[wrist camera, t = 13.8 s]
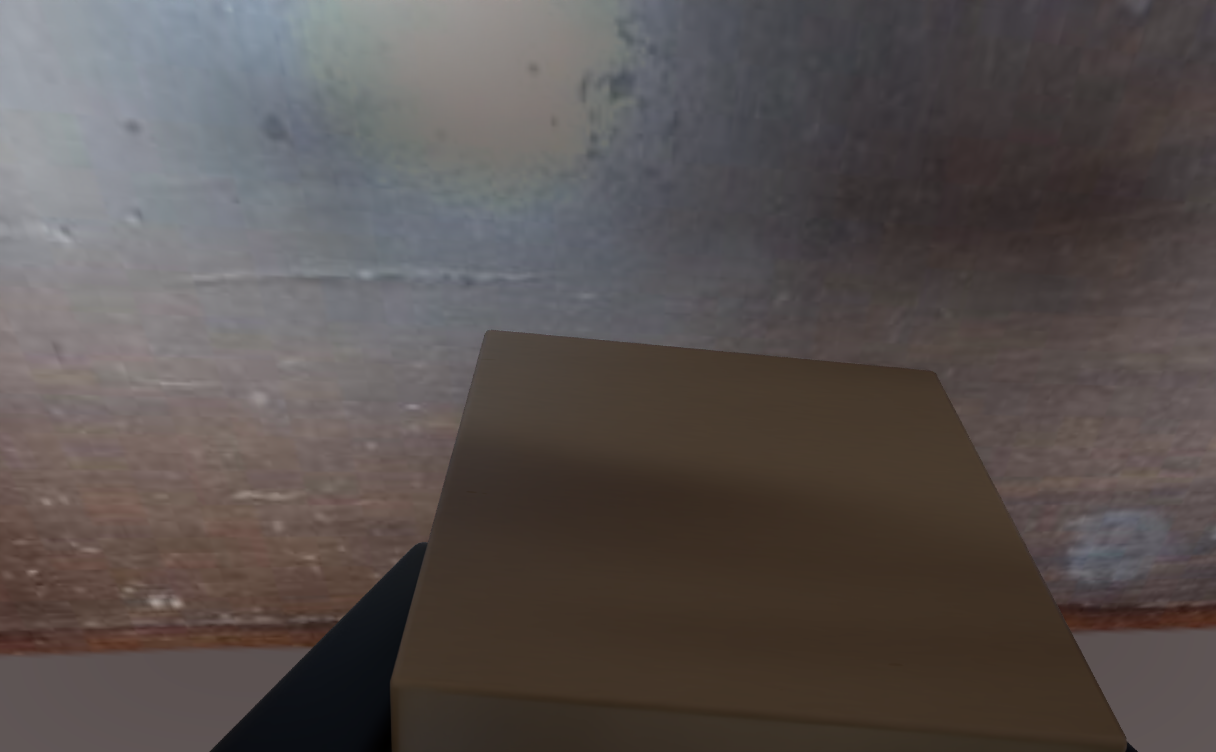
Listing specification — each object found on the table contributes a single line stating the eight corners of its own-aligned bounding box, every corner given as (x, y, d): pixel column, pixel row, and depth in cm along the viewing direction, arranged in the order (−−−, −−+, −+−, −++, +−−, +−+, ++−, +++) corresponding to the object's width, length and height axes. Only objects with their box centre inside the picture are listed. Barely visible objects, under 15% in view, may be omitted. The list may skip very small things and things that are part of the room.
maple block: (839, 682, 11) (937, 1102, 7) (473, 651, 11) (398, 1062, 7) (936, 368, 9) (1136, 745, 5) (485, 325, 9) (388, 683, 5)
